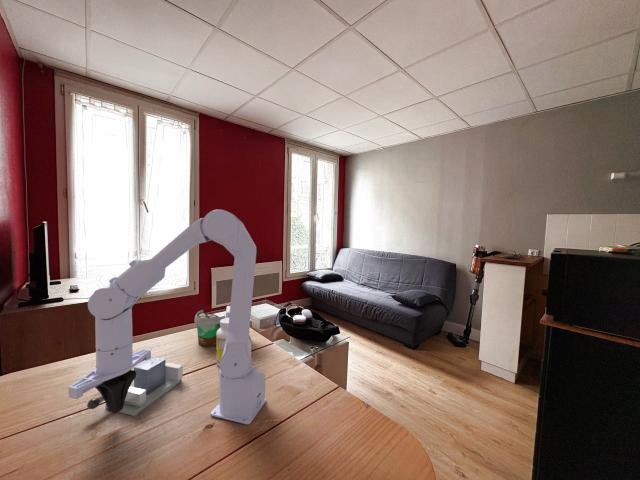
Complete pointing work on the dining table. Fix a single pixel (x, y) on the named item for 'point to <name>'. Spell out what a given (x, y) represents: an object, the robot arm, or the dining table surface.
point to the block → (150, 374)
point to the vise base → (158, 389)
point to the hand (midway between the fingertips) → (115, 410)
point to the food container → (207, 328)
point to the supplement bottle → (221, 338)
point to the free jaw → (132, 398)
